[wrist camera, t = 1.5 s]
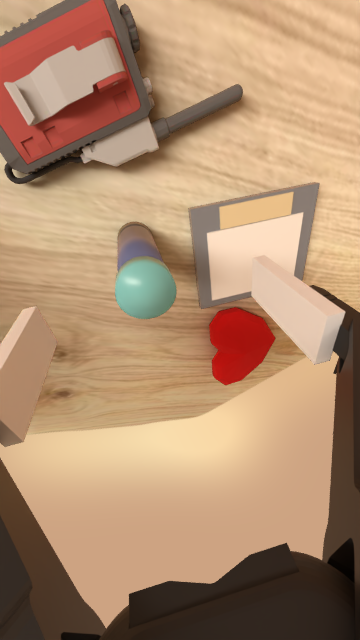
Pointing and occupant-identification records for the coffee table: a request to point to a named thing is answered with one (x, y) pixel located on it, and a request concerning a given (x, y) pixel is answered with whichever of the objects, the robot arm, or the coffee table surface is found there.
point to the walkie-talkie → (81, 91)
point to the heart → (238, 344)
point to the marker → (142, 274)
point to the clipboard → (249, 239)
